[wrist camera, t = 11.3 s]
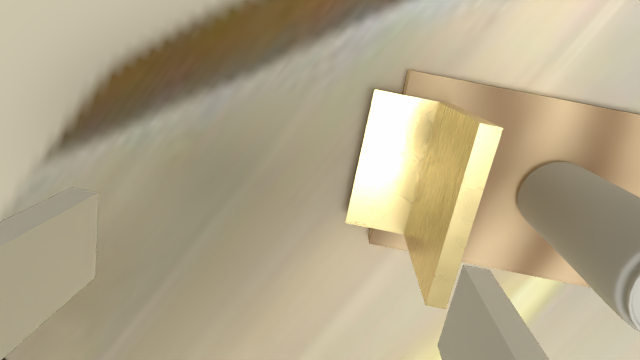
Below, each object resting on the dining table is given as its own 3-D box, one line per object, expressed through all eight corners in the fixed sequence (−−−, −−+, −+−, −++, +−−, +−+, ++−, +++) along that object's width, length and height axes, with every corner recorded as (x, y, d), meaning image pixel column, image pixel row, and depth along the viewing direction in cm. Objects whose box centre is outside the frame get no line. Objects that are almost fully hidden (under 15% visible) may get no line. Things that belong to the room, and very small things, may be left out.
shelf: (368, 236, 31) (380, 347, 19) (408, 69, 27) (453, 80, 16) (692, 300, 31) (905, 451, 19) (774, 140, 27) (1097, 205, 15)
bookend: (345, 219, 29) (344, 288, 20) (374, 88, 26) (386, 105, 18) (416, 233, 29) (445, 309, 20) (452, 103, 26) (503, 127, 18)
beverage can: (588, 151, 27) (763, 229, 15) (592, 220, 28) (757, 338, 17) (510, 168, 27) (622, 253, 16) (517, 234, 29) (627, 357, 17)
